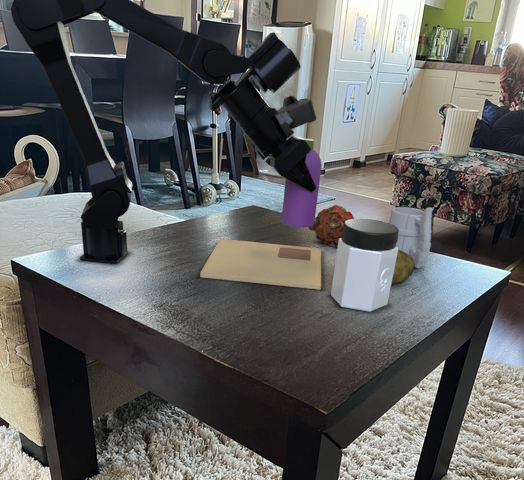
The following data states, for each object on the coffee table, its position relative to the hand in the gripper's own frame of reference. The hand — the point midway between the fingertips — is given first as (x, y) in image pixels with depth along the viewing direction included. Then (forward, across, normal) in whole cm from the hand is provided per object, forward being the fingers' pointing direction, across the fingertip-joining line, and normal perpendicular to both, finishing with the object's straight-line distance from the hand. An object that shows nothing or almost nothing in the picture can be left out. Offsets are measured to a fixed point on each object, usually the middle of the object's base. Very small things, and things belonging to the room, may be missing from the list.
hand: (309, 186), depth 94 cm
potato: (+17, -12, +2) cm, 21 cm away
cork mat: (+4, -3, +15) cm, 16 cm away
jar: (+12, -20, +7) cm, 25 cm away
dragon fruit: (+16, +10, +3) cm, 19 cm away
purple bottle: (+4, 0, +6) cm, 7 cm away
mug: (+23, -4, -4) cm, 24 cm away
